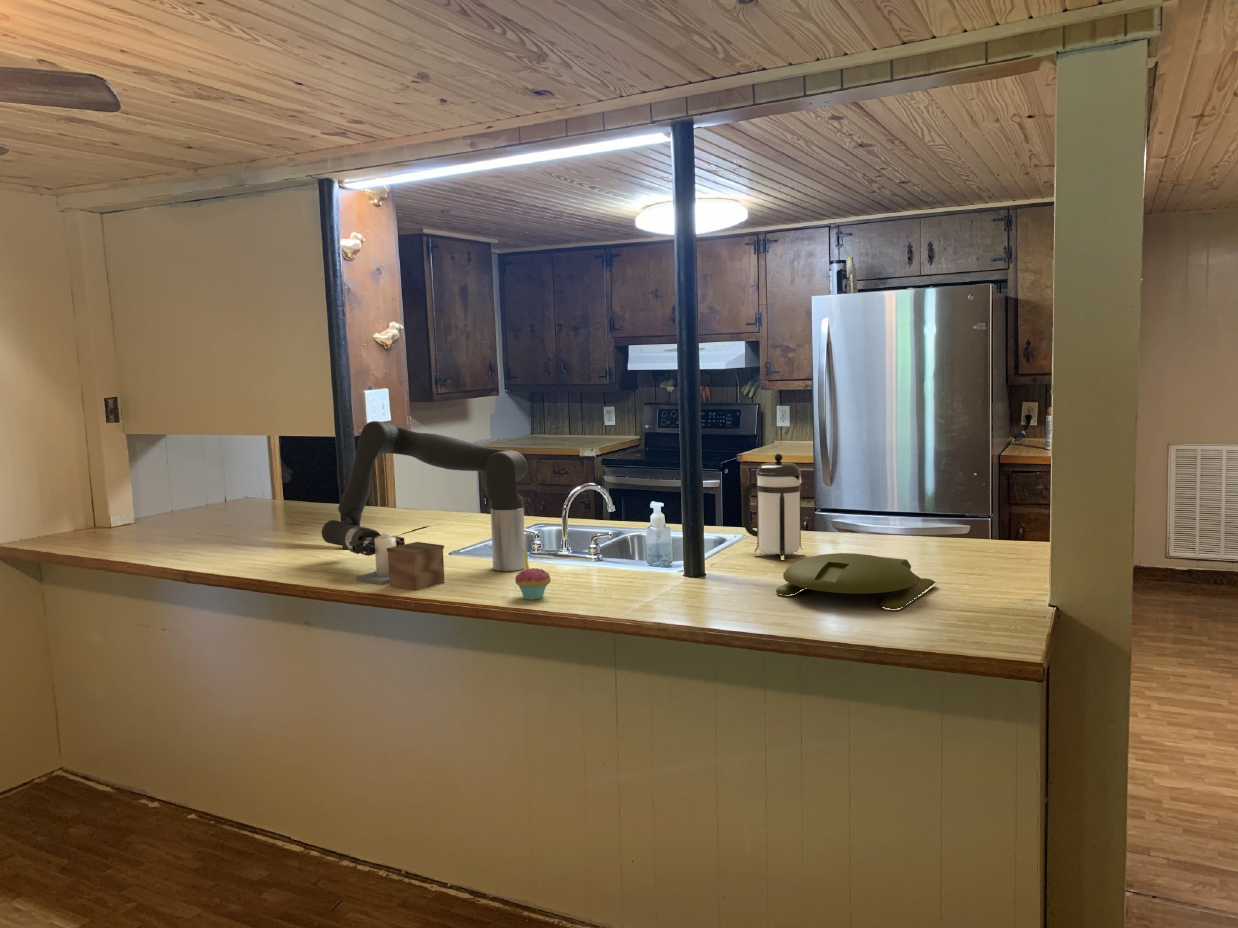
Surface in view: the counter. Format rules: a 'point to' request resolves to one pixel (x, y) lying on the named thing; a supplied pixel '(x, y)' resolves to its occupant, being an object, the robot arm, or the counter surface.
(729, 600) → the counter surface
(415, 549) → the wooden lidded box
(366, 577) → the mat
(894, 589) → the spaceship
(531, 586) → the cupcake
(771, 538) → the coffee press
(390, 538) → the white pillar candle
